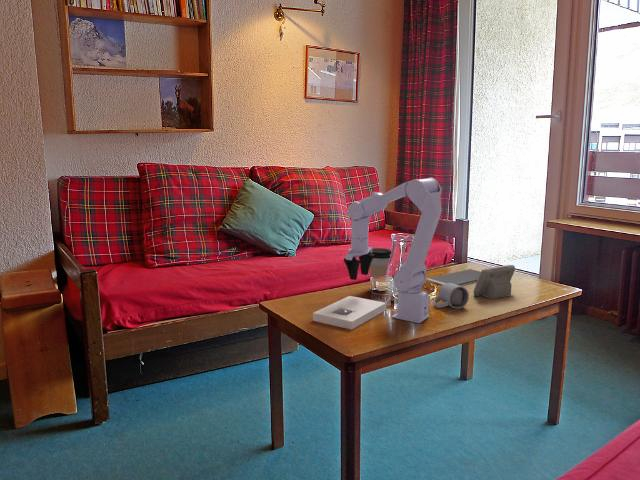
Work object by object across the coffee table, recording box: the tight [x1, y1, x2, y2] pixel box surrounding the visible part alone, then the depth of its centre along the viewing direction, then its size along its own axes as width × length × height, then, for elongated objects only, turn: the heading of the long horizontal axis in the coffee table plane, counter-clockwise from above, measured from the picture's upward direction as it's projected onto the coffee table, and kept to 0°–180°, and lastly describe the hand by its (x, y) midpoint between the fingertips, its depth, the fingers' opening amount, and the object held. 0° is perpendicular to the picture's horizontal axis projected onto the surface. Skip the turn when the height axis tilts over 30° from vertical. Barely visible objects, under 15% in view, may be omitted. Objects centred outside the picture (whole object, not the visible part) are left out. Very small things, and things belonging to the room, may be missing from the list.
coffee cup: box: [369, 247, 392, 279], centre depth 200 cm, size 9×9×15 cm
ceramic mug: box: [432, 283, 470, 310], centre depth 182 cm, size 11×8×8 cm
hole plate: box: [312, 295, 387, 330], centre depth 172 cm, size 14×22×2 cm, turn 146°
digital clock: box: [473, 264, 516, 300], centre depth 195 cm, size 16×9×11 cm, turn 108°
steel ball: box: [338, 310, 349, 315], centre depth 168 cm, size 4×4×4 cm
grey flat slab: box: [425, 268, 481, 287], centre depth 216 cm, size 13×27×2 cm, turn 124°
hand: (358, 276), depth 183 cm, fingers open, 7 cm apart
